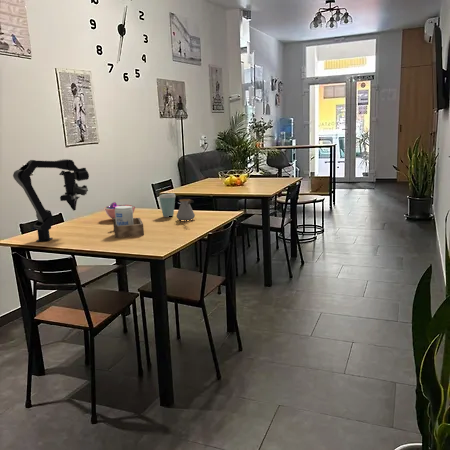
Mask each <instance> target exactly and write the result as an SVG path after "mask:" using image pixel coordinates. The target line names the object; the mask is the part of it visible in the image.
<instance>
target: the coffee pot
mask: <svg viewBox="0 0 450 450" xmlns="http://www.w3.org/2000/svg"><path fill="white" fill-rule="evenodd" d="M178 201H179V202H180V204H179V208H178V210H177V213H176V219H178V220H179V221H180V220H191V219H192V220H193V219H194V218H195V215H196V214H195V212H194V210H193V208H192V206H191V204H192V203H194V200H193V199H190V198H181V199H179V200H178ZM192 220H191V221H192Z"/></svg>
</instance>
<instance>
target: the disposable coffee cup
mask: <svg viewBox="0 0 450 450" xmlns="http://www.w3.org/2000/svg"><path fill="white" fill-rule="evenodd" d="M158 198H159V202H160V203H159V204H160V209H161V213H162V216H164V217H163V218H170V217H169V216H173V217H174V215H175V203H176V194H175V192H174V193H163V194H160V195H159V196H158Z"/></svg>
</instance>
